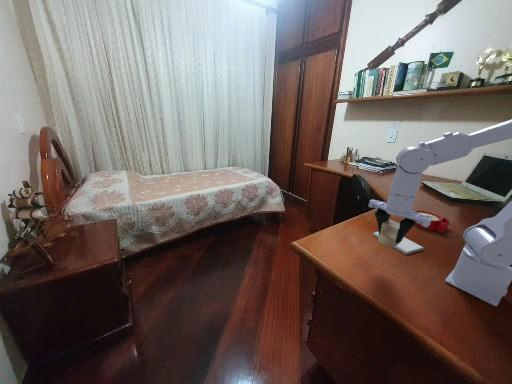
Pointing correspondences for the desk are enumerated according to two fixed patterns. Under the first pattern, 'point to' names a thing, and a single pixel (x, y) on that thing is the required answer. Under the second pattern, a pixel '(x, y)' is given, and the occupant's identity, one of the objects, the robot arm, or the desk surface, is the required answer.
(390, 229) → the birch block
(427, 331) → the desk surface
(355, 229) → the desk surface
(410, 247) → the external hard drive
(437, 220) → the alarm clock
